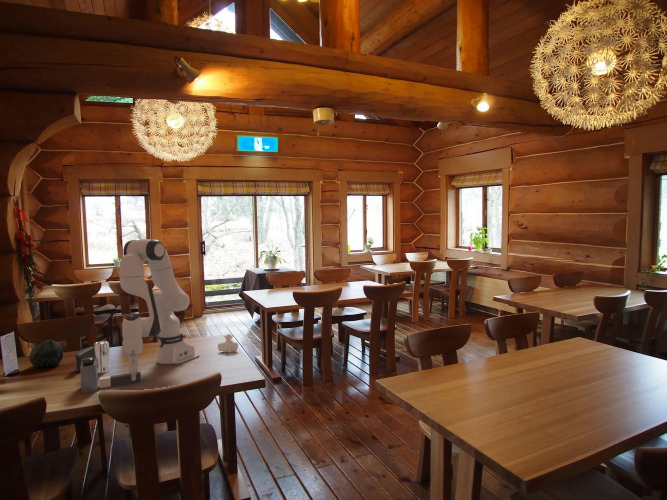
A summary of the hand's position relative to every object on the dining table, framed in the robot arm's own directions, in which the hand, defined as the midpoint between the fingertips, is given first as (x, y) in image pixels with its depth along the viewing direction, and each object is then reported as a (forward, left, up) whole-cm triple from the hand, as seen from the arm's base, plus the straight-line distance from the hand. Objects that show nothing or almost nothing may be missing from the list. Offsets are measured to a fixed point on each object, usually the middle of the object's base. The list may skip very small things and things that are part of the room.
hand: (133, 376), depth 207 cm
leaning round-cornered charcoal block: (+9, -38, -3) cm, 40 cm away
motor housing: (+17, -6, -2) cm, 19 cm away
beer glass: (+5, -26, -3) cm, 27 cm away
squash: (+22, -58, -3) cm, 62 cm away
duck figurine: (-57, -7, -3) cm, 58 cm away
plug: (+5, -2, -2) cm, 6 cm away
